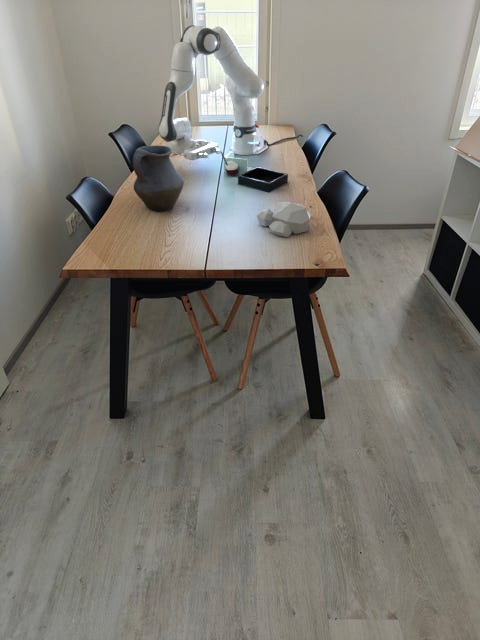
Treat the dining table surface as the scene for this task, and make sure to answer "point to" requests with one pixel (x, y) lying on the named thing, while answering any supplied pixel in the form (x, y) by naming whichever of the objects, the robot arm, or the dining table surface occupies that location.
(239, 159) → the pale cyan corner bracket
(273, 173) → the tray
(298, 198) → the dining table surface
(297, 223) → the rock
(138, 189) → the pitcher
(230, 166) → the cocoa
